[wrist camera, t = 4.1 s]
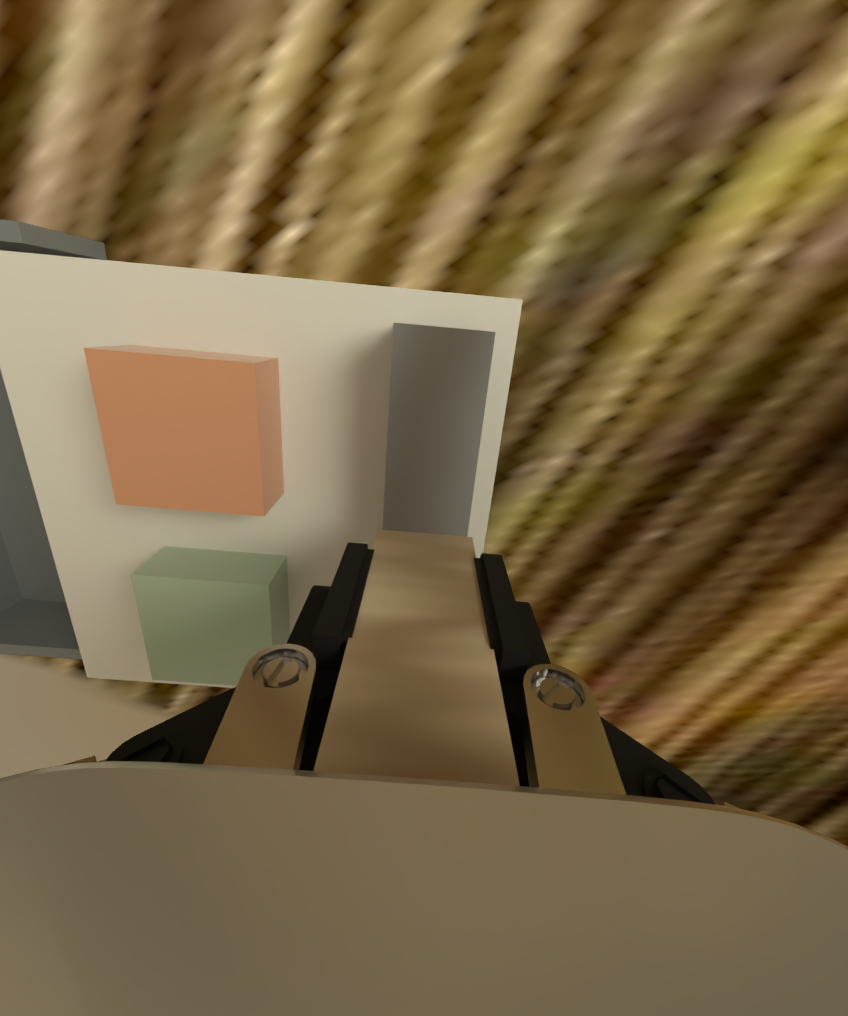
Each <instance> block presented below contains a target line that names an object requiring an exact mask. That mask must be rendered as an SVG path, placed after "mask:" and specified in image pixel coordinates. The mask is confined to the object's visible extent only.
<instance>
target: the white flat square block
mask: <svg viewBox="0 0 848 1016" xmlns="http://www.w3.org/2000/svg"><path fill="white" fill-rule="evenodd" d="M522 301H523V300H522V299H512V298H501V297H490V296H480V295H469V294H459V293H448V292H437V291H427V290H416V289H406V288H395V287H384V286H374V285H363V284H352V283H342V282H331V281H321V280H310V279H299V278H289V277H278V276H268V275H257V274H246V273H236V272H225V271H215V270H204V269H193V268H183V267H172V266H162V265H151V264H140V263H130V262H119V261H109V260H98V259H87V258H77V257H66V256H55V255H45V254H34V253H24V252H13V251H2V250H0V369H1V373H2V376H3V380H4V383H5V387H6V391H7V394H8V398H9V401H10V405H11V408H12V412H13V415H14V419H15V423H16V426H17V430H18V433H19V437H20V440H21V444H22V447H23V451H24V454H25V458H26V462H27V465H28V469H29V472H30V476H31V479H32V483H33V486H34V490H35V494H36V497H37V501H38V504H39V508H40V511H41V515H42V518H43V522H44V525H45V529H46V533H47V536H48V540H49V543H50V547H51V550H52V554H53V557H54V561H55V564H56V568H57V572H58V575H59V579H60V582H61V586H62V589H63V593H64V596H65V600H66V604H67V607H68V611H69V614H70V618H71V621H72V625H73V628H74V632H75V635H76V639H77V643H78V646H79V650H80V653H81V657H82V660H83V664H84V667H85V671H86V675H87V678H100V679H114V680H128V681H142V682H156V683H170V684H184V685H198V686H212V687H226V688H234V687H236V686H232V685H218V684H204V683H190V682H176V681H162V680H152V676H151V672H150V667H149V662H148V657H147V652H146V647H145V643H144V638H143V633H142V628H141V623H140V618H139V613H138V609H137V604H136V599H135V594H134V589H133V584H132V580H131V574H132V573H133V572H134V571H135V570H137V569H138V568H139V567H140V566H141V565H143V564H144V563H145V562H146V561H147V560H149V559H150V558H151V557H152V556H153V555H155V554H156V553H157V552H158V551H159V550H161V549H162V548H163V547H164V546H171V547H183V548H196V549H209V550H221V551H234V552H247V553H259V554H272V555H285V556H287V571H288V594H289V617H290V634H291V632H292V630H293V628H294V626H295V623H296V621H297V619H298V617H299V615H300V612H301V610H302V608H303V606H304V604H305V601H306V599H307V597H308V595H309V593H310V590H311V588H312V587H313V586H314V585H319V586H331V585H332V582H333V580H334V577H335V574H336V572H337V569H338V567H339V564H340V561H341V559H342V556H343V553H344V551H345V548H346V546H347V543H348V542H351V543H363V544H368V549H372V547H373V544H374V540H375V536H376V532H377V529H381V530H382V528H383V509H384V490H385V471H386V452H387V433H388V415H389V396H390V377H391V358H392V339H393V323H405V324H416V325H427V326H438V327H449V328H460V329H470V330H481V331H490V332H496V333H495V340H494V347H493V354H492V361H491V369H490V376H489V383H488V390H487V398H486V405H485V412H484V419H483V426H482V434H481V441H480V448H479V455H478V462H477V470H476V477H475V484H474V491H473V499H472V506H471V513H470V520H469V527H468V535H467V537H472V538H473V544H474V549H475V554H476V558H480V556H481V554H482V553H483V550H484V544H485V538H486V531H487V525H488V518H489V512H490V506H491V499H492V493H493V486H494V480H495V474H496V467H497V461H498V455H499V448H500V442H501V435H502V429H503V423H504V416H505V410H506V404H507V397H508V391H509V384H510V378H511V372H512V365H513V359H514V352H515V346H516V340H517V333H518V327H519V321H520V314H521V308H522ZM119 345H140V346H152V347H163V348H174V349H185V350H196V351H207V352H218V353H230V354H241V355H252V356H263V357H274V358H278V362H279V385H280V408H281V431H282V455H283V478H284V494H283V495H282V496H281V497H280V499H279V500H278V501H277V502H276V503H275V504H274V506H273V507H272V508H271V509H270V510H269V511H268V513H267V514H266V515H265V516H254V515H241V514H229V513H217V512H204V511H192V510H179V509H167V508H155V507H142V506H130V505H118V504H116V502H115V497H114V493H113V488H112V483H111V478H110V473H109V468H108V464H107V459H106V454H105V449H104V444H103V439H102V434H101V430H100V425H99V420H98V415H97V410H96V405H95V401H94V396H93V391H92V386H91V381H90V376H89V372H88V367H87V362H86V357H85V352H84V348H89V347H104V346H119Z"/></svg>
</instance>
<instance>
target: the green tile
mask: <svg viewBox="0 0 848 1016" xmlns="http://www.w3.org/2000/svg"><path fill="white" fill-rule="evenodd" d="M131 580H132V584H133V589H134V594H135V599H136V604H137V609H138V613H139V618H140V623H141V628H142V633H143V638H144V643H145V647H146V652H147V657H148V662H149V667H150V672H151V676H152V680H162V681H176V682H190V683H204V684H218V685H232V686H237V685H238V682H239V680H240V678H241V675H242V673H243V671H244V668H245V666H246V665H247V663H248V662H249V660H250V659H251V658H252V657H253V656H254V655H255V654H257V653H258V652H260V651H262V650H263V649H265V648H267V647H271V646H274V645H278V644H286V643H287V641H288V639H289V637H290V617H289V594H288V571H287V556H285V555H272V554H259V553H247V552H234V551H221V550H209V549H196V548H183V547H171V546H164V547H163V548H162V549H161V550H159V551H158V552H157V553H156V554H155V555H153V556H152V557H151V558H150V559H149V560H147V561H146V562H145V563H144V564H143V565H141V566H140V567H139V568H138V569H137V570H135V571H134V572H133V573H132V574H131Z"/></svg>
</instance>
